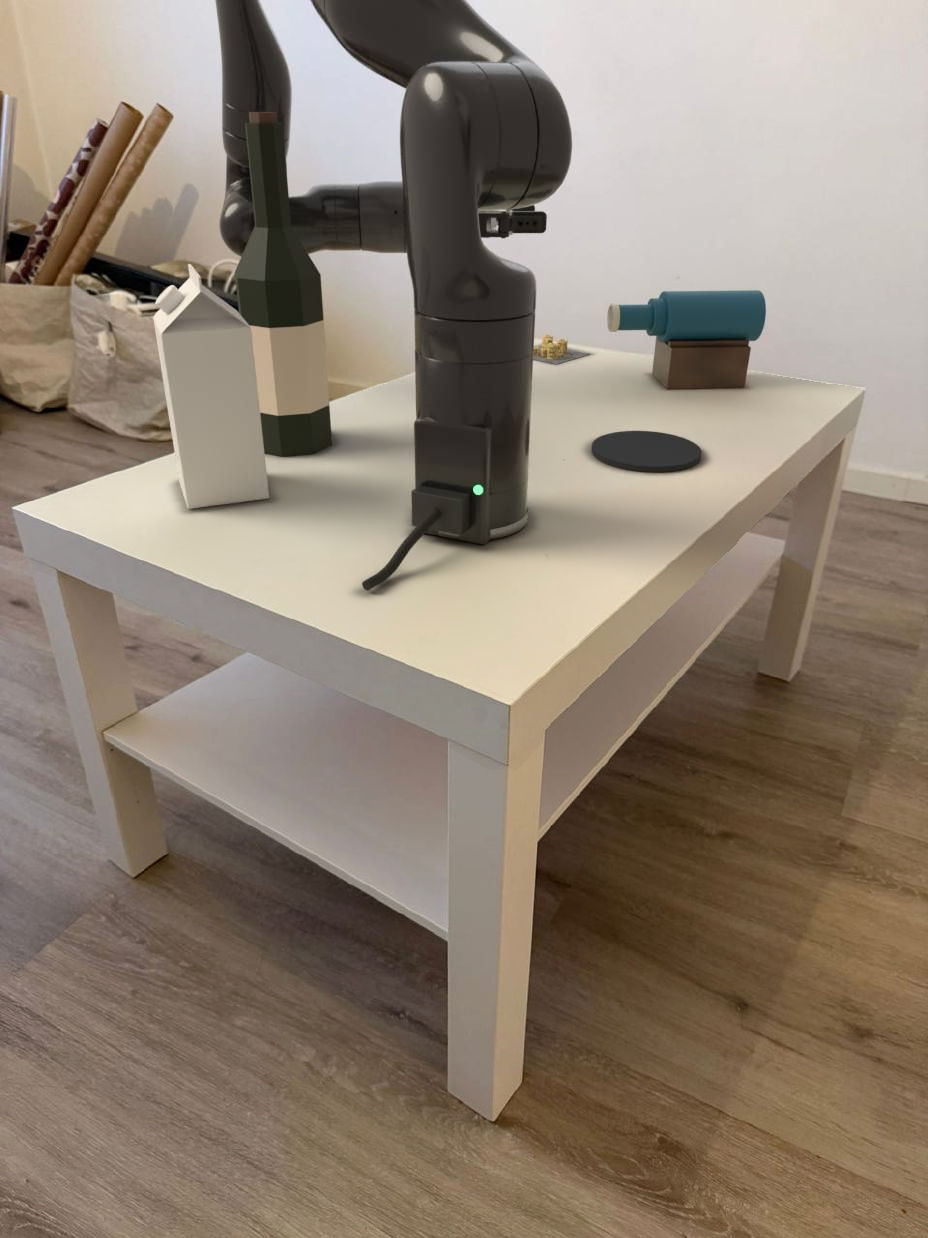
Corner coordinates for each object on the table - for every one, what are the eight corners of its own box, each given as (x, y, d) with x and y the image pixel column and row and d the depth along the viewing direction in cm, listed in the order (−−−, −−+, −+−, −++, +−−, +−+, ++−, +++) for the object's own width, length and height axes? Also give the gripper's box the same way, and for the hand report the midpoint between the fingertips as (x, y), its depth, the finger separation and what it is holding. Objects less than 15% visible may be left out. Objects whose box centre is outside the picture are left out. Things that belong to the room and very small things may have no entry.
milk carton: (256, 473, 86) (231, 261, 77) (270, 500, 80) (245, 274, 71) (179, 482, 84) (144, 265, 74) (187, 511, 78) (151, 279, 69)
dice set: (546, 347, 131) (546, 334, 130) (574, 353, 128) (575, 339, 127) (524, 353, 128) (524, 339, 127) (552, 360, 125) (553, 345, 124)
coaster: (687, 479, 86) (688, 473, 85) (577, 461, 90) (577, 456, 89) (711, 444, 94) (711, 439, 94) (609, 430, 98) (609, 424, 98)
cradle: (725, 373, 120) (732, 329, 117) (744, 387, 114) (752, 342, 111) (651, 374, 119) (656, 330, 116) (667, 389, 113) (672, 343, 110)
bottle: (744, 337, 117) (750, 288, 114) (762, 344, 111) (769, 292, 109) (603, 339, 115) (606, 289, 113) (614, 346, 110) (618, 294, 107)
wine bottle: (340, 431, 97) (320, 111, 82) (322, 458, 90) (297, 113, 75) (265, 428, 98) (231, 111, 83) (241, 454, 91) (199, 112, 76)
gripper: (401, 186, 95) (552, 187, 97) (397, 176, 108) (532, 176, 109) (402, 262, 99) (548, 261, 101) (399, 243, 111) (529, 243, 113)
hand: (539, 217), depth 105 cm, fingers open, 8 cm apart
